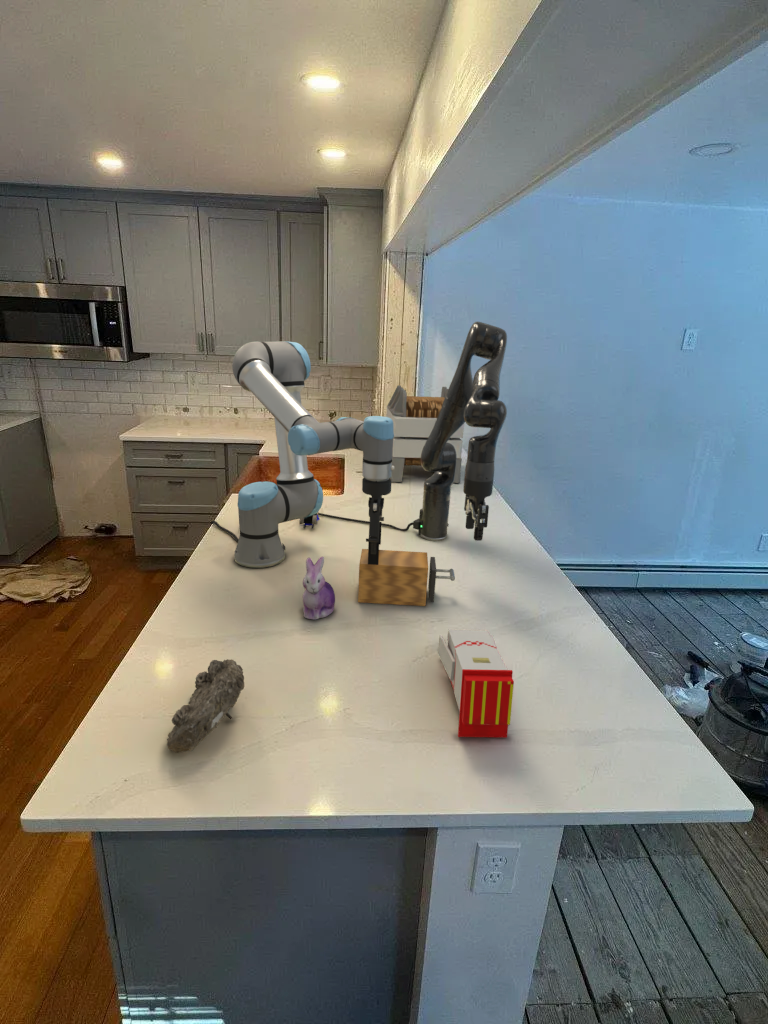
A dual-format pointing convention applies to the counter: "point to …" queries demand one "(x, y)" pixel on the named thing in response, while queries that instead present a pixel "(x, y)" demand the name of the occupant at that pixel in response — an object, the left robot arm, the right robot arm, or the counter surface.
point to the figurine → (317, 592)
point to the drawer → (433, 577)
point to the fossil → (206, 705)
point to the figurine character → (309, 520)
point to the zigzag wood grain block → (394, 578)
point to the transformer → (416, 430)
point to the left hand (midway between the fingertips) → (374, 553)
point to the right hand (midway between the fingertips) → (473, 534)
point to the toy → (478, 682)
